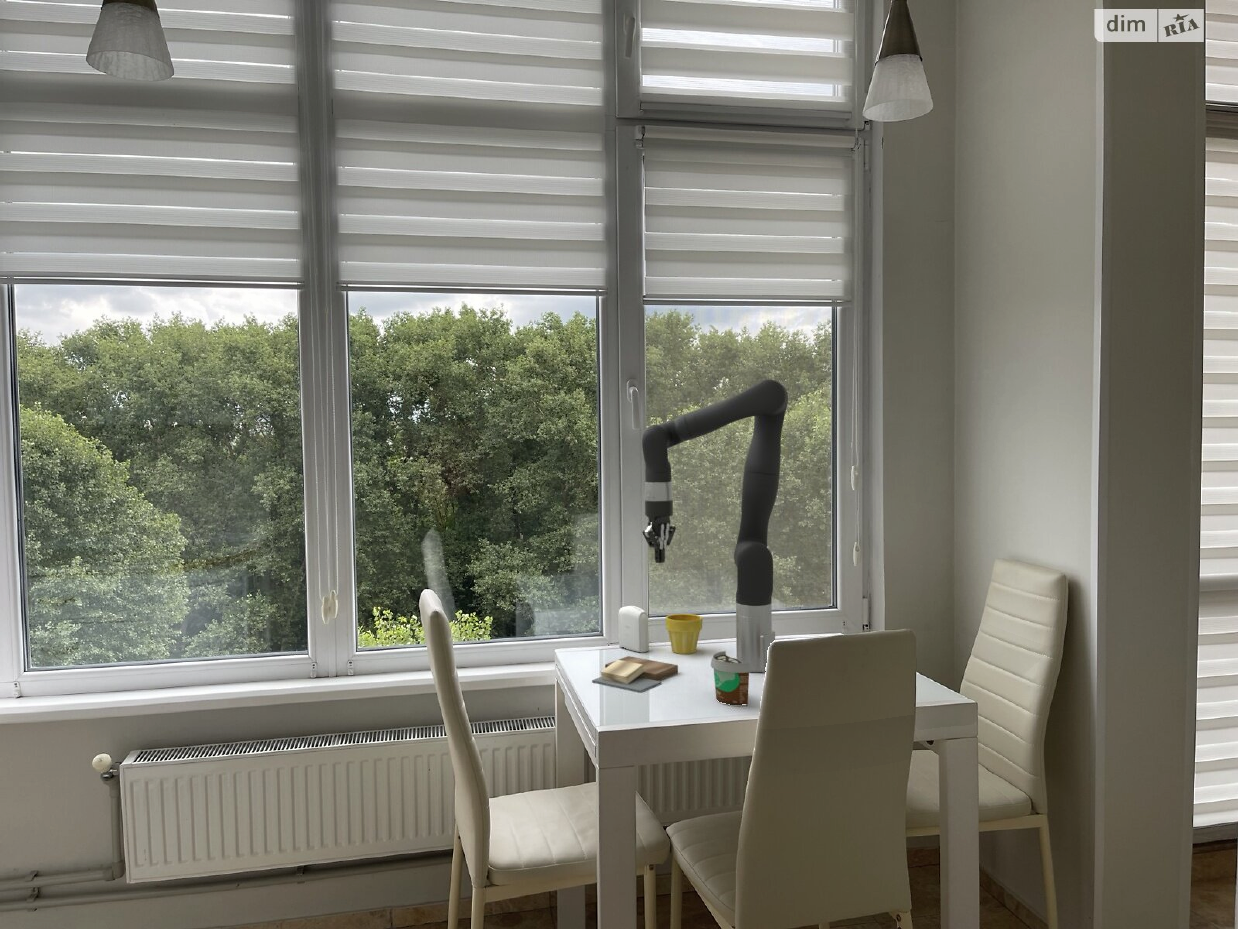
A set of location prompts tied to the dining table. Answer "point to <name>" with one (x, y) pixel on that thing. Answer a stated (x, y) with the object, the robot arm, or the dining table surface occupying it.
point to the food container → (730, 679)
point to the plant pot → (684, 632)
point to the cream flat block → (622, 671)
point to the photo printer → (633, 629)
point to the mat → (631, 684)
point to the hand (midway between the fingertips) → (660, 562)
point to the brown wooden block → (652, 668)
